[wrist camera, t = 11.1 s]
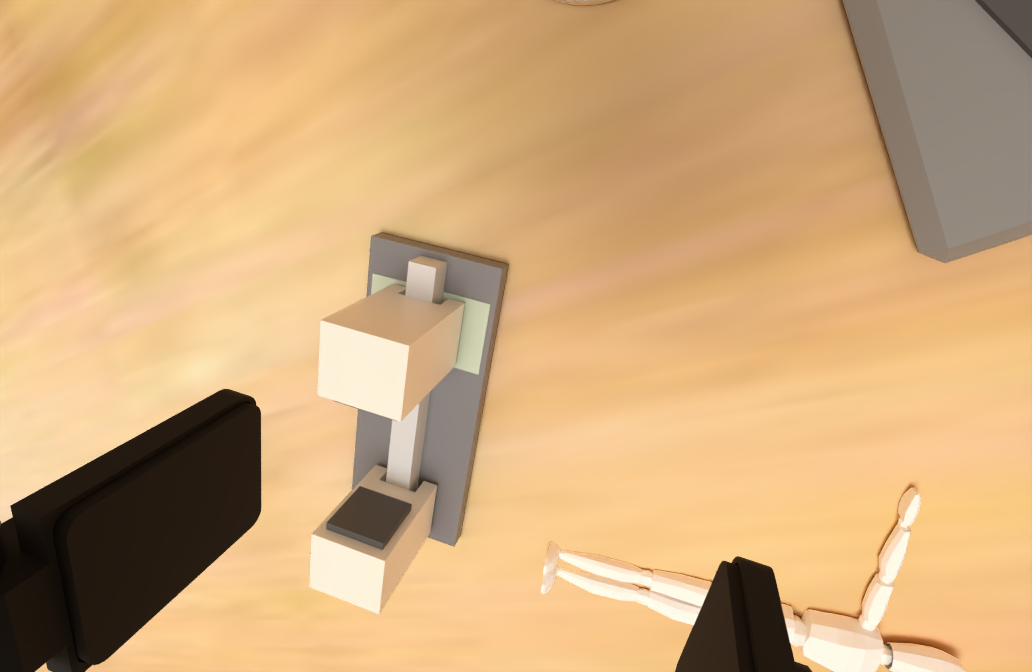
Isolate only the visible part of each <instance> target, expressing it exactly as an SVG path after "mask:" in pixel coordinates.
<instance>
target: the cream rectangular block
mask: <svg viewBox="0 0 1032 672" xmlns="http://www.w3.org/2000/svg"><path fill="white" fill-rule="evenodd" d="M405 293H406V287H403V286H400V285H396V284H391V285H389V286H387V287H385V288H383V289H381V290H379V291H377V292H375V293H373V294H371V295H370V296H368V297H366V298H364V299H362V300H360V301H358V302H356V303H354V304H352V305H350V306H348V307H346V308H344V309H342V310H340V311H338V312H336V313H334V314H332V315H330V316H328V317H326V318H324V319H322V320H321V326H320V349H319V373H318V396H321V397H324V398H328V399H331V400H333V401H335V402H339V403H342V404H345V405H348V406H351V407H354V408H357V409H360V410H364V411H367V412H370V413H373V414H376V415H379V416H382V417H385V418H389V419H392V420H395V421H400V422H401V421H402V420H403V419H404V418H405V417H406V416H407V415H408V414H409V413H410V412H411V411H412V410H413V409H414V408H415V407H416V406H417V405H418V404H419V403H420V402H421V400H422V399H423V398H424V397H425V396H426V395H427V394H428V393H429V392H430V391H431V390H432V389H433V388H434V387H435V386H436V385H437V384H438V383H439V382H440V381H441V380H442V379H443V378H444V377H445V376H446V375H447V374H448V373H449V372H450V371H451V370H452V369H453V368H454V367H455V364H456V358H457V351H458V344H459V338H460V331H461V324H462V318H463V311H464V305H465V303H463V302H459V301H456V300H452V299H448V300H446V301H445V302H444V303H442V304H441V305H439V304H435V303H431V302H427V301H424V300H420V299H416V298H413V297H409V296H405Z"/></svg>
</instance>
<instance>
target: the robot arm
mask: <svg viewBox="0 0 1032 672" xmlns="http://www.w3.org/2000/svg"><path fill="white" fill-rule="evenodd" d="M554 1H557V2H562V3H567V4H571V5H597V4H602V3H606V2H610V1H614V0H554ZM11 511H12V515H13V518H11V519H9V520H7V521H5V522H4V523H2V524H1V521H0V672H35V671H36V670H37V669H39V668H40V667H41V666H42V665H43V664H45V663H46V664H47V668H48V670H50V671H52V672H85V671H86V670H87V669H88V668H89V667H90V666H92V665H97V664H100V663H102V662H104V661H105V660H106V659H108V658H109V657H110V656H111V655H112V654H113V653H114V652H116V651H117V650H118V649H119V648H120V647H121V646H122V645H123V644H124V643H125V642H126V641H128V640H129V639H130V638H131V637H132V636H133V635H134V634H135V633H136V632H137V631H139V630H140V629H141V628H142V627H143V626H144V625H145V624H146V623H147V622H148V621H149V620H151V619H152V618H153V617H154V616H155V615H156V614H157V613H158V612H159V611H160V610H161V609H163V608H164V607H165V606H166V605H167V604H168V603H169V602H170V601H171V600H172V599H174V598H175V597H176V596H177V595H178V594H179V593H180V592H181V591H182V590H183V589H184V588H186V587H187V586H188V585H189V584H190V583H191V582H192V581H193V580H194V579H195V578H197V577H198V576H199V575H200V574H201V573H202V572H203V571H204V570H205V569H206V568H207V567H209V566H210V565H211V564H212V563H213V562H214V561H215V560H216V559H217V558H218V557H219V556H221V555H222V554H223V553H224V552H225V551H226V550H227V549H228V548H229V547H230V546H232V545H233V544H234V543H235V542H236V541H237V540H238V539H239V538H240V537H241V536H242V535H244V534H245V533H246V532H247V531H248V530H249V529H250V528H251V527H252V526H253V525H254V524H255V522H256V521H257V519H258V517H259V515H260V512H261V411H260V409H259V407H257V406H256V401H255V400H254V398H252V397H251V396H248V395H245V394H242V393H239V392H236V391H233V390H230V389H223V390H220V391H218V392H216V393H215V394H213V395H211V396H209V397H207V398H206V399H204V400H202V401H200V402H198V403H196V404H195V405H193V406H191V407H189V408H187V409H186V410H184V411H182V412H180V413H178V414H176V415H175V416H173V417H171V418H169V419H167V420H166V421H164V422H162V423H160V424H158V425H156V426H155V427H153V428H151V429H149V430H147V431H146V432H144V433H142V434H140V435H138V436H136V437H135V438H133V439H131V440H129V441H127V442H126V443H124V444H122V445H120V446H118V447H116V448H115V449H113V450H111V451H109V452H107V453H106V454H104V455H102V456H100V457H98V458H96V459H95V460H93V461H91V462H89V463H87V464H85V465H84V466H82V467H80V468H78V469H76V470H75V471H73V472H71V473H69V474H67V475H65V476H64V477H62V478H60V479H58V480H56V481H55V482H53V483H51V484H49V485H47V486H45V487H44V488H42V489H40V490H38V491H36V492H35V493H33V494H31V495H29V496H27V497H25V498H24V499H22V500H20V501H18V502H16V503H15V504H13V505H11ZM675 672H812V671H811V670H810V668H809V667H808V666H806V665H803V664H800V663H797V662H794V657H793V653H792V649H791V644H790V640H789V636H788V631H787V627H786V623H785V618H784V614H783V610H782V605H781V601H780V597H779V592H778V588H777V584H776V579H775V575H774V572H773V569H772V568H771V567H769V566H766V565H763V564H760V563H757V562H754V561H751V560H748V559H745V558H742V557H735V558H734V559H733V561H732V563H729V562H726V561H722V562H721V564H720V565H719V568H718V570H717V572H716V575H715V577H714V579H713V582H712V584H711V586H710V589H709V591H708V593H707V596H706V598H705V600H704V603H703V605H702V607H701V610H700V612H699V614H698V617H697V619H696V621H695V624H694V626H693V628H692V631H691V633H690V635H689V638H688V640H687V642H686V645H685V647H684V649H683V652H682V654H681V656H680V659H679V661H678V664H677V667H676V670H675Z"/></svg>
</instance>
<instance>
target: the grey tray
mask: <svg viewBox="0 0 1032 672" xmlns="http://www.w3.org/2000/svg"><path fill="white" fill-rule="evenodd" d="M842 1H843V5H844V8H845V11H846V15H847V18H848V21H849V24H850V28H851V31H852V34H853V38H854V41H855V44H856V48H857V51H858V54H859V58H860V61H861V64H862V68H863V71H864V74H865V78H866V81H867V84H868V88H869V91H870V94H871V98H872V101H873V104H874V108H875V111H876V114H877V118H878V121H879V124H880V128H881V131H882V134H883V138H884V141H885V144H886V148H887V151H888V154H889V158H890V161H891V164H892V168H893V171H894V174H895V178H896V181H897V184H898V187H899V191H900V194H901V197H902V201H903V204H904V207H905V211H906V214H907V217H908V221H909V224H910V227H911V231H912V234H913V237H914V241H915V244H916V247H917V251H918V252H919V253H921V254H924V255H926V256H929V257H931V258H934V259H936V260H938V261H941V262H943V263H947V262H950V261H953V260H956V259H959V258H962V257H965V256H968V255H971V254H974V253H977V252H980V251H984V250H987V249H990V248H993V247H996V246H999V245H1002V244H1005V243H1008V242H1011V241H1014V240H1017V239H1020V238H1023V237H1026V236H1029V235H1032V0H842Z"/></svg>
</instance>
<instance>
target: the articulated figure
mask: <svg viewBox="0 0 1032 672" xmlns="http://www.w3.org/2000/svg"><path fill="white" fill-rule="evenodd" d="M920 497H921V496H920V495H919V493H918V492H917V491H916V489H915V488H910V489H909V490H908V491H906V492H905V493H904V494H903V496H902V498H901V500H900V502H899V506H898V514H899V516H900V518H899V520H898V523H897V525H896V527H895V528H894V530H893V531H892V533H891V535H890V536H889V538H888V539H887V541H886V543H885V545H884V547H883V549H882V551H881V553H880V555H879V569H880V571H879V573H876V574H875V576H874V578H873V580H872V581H871V583H870V585H869V587H868V588H867V591H866V594H865V596H864V599H863V602H862V614H861V615H860V616H859V619H858V618H853V617H849V616H845V615H839V614H834V613H826V612H821V611H816V610H811V609H808V610H806V611H805V612H804V614H803V616H802V618H801V619H800V618H799V617H798V616H796V615H793V610H792V607H791V606H789V605H786V604H782V603H781V605H782V610H783V614H784V618H785V623H786V627H787V631H788V636H789V640H790V644H793V645H794V646H795V647H798V646H800V647H801V654H802V655H804V656H806V657H807V658H809V659H811V660H813V661H815V662H817V663H819V664H821V665H822V666H824V667H826V668H828V669H830V670H832V671H834V672H876V670H877V668H878V666H879V665H880V663H881V664H882V665H885V667H886V668H887V669H889V670H891V671H893V672H965V669H964V667H963V665H962V664H961V662H960V661H959V660H958V659H957V658H955V657H954V656H952V655H950V654H948V653H946V652H944V651H942V650H939V649H936V648H934V647H931V646H925V645H919V644H913V643H890V642H887V643H886V644H885V645H883V640H882V637H881V634H880V631H879V629H878V626H877V625H878V623H879V622H880V620H881V619H882V618H883V616H884V615H885V613H886V609H887V605H888V601H889V598H890V595H891V593H892V590H893V587H894V584H893V581H894V579H895V577H896V576H897V574H898V572H899V571H900V569H901V568H902V564H903V561H904V558H905V554H906V551H907V546H908V541H909V537H910V532H911V530H910V528H909V525H912V524H913V522H914V521H915V519H916V517H917V516H918V512H919V509H920ZM559 558H560V559H563V561H565V562H568V563H570V564H572V565H575V566H577V567H579V568H581V569H584V570H586V571H588V572H591V573H587V572H582V571H577V570H572V569H567V568H563V569H562V568H558V566H557V565H556V564H557V562H558V559H559ZM592 573H593V574H592ZM543 575H544V578H543V583H542V589H541V593H542V594H545V593H547V592H548V591H549V590H550V588H551V587H552V586H553V585H554V582H555V579H556V577H557V576H561V578H562V579H564V580H566V581H568V582H570V583H573V584H575V585H577V586H579V587H581V588H583V589H585V590H587V591H589V592H591V593H593V594H597V595H601V596H605V597H609V598H613V599H617V600H625V601H636V602H638V603H640V604H642V605H647V607H649V608H651V609H653V610H655V611H657V612H659V613H661V614H663V615H665V616H667V617H669V618H671V619H673V620H677V621H680V622H684V623H688V624H691V625H694V624H695V621H696V619H697V617H698V614H699V612H700V610H701V607H702V605H703V603H704V600H705V598H706V596H707V593H708V591H709V589H710V586H711V584H712V582H710V581H706V580H702V579H698V578H694V577H690V576H687V575H684V574H679V573H673V572H667V571H661V570H653V571H652V572H651V571H649V570H642V569H641V568H639V567H637V566H635V565H632V564H629V563H626V562H623V561H619V560H615V559H612V558H608V557H604V556H600V555H595V554H588V553H581V552H574V551H568V550H565V551H563V550H560V548H559V547H558V546H557V545H556V544H554V543H553V542H551V544H550V546H549V549H548V551H547V555H546V559H545V563H544V569H543ZM631 583H639V584H640V583H641V584H642V585H644V586H651V588H650V589H649V590H647V589H645V588H639V587H638V586H636V585H633V584H631Z"/></svg>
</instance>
